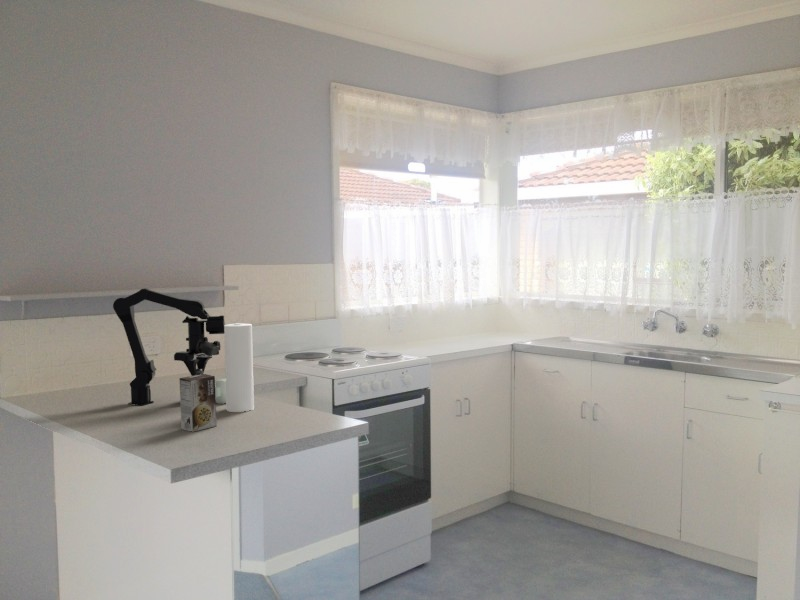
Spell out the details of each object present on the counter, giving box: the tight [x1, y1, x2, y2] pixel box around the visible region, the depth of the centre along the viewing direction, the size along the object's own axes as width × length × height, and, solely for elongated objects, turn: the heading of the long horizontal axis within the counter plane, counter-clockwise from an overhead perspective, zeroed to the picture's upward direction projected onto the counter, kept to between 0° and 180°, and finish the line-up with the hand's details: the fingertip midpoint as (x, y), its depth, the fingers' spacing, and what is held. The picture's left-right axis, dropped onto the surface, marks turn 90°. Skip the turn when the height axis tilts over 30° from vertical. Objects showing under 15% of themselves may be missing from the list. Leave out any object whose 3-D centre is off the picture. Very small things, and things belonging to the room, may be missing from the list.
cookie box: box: [179, 373, 218, 433], centre depth 226 cm, size 9×6×16 cm
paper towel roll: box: [223, 322, 255, 413], centre depth 252 cm, size 9×9×30 cm
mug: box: [215, 378, 226, 405], centre depth 265 cm, size 9×7×8 cm
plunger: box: [196, 367, 204, 375], centre depth 267 cm, size 4×4×7 cm
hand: (197, 376), depth 267 cm, fingers closed on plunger, 4 cm apart
